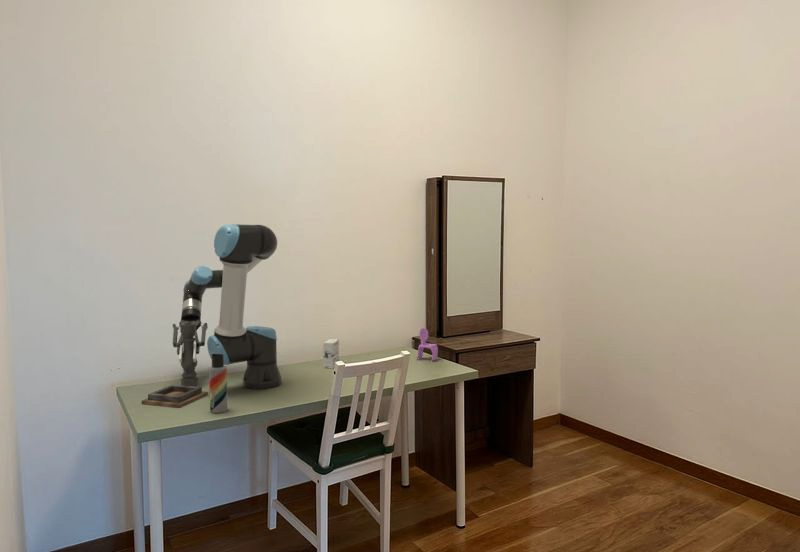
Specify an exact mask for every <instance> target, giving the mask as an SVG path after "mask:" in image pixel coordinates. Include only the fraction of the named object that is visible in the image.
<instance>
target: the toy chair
mask: <svg viewBox="0 0 800 552" xmlns="http://www.w3.org/2000/svg"><path fill="white" fill-rule="evenodd" d="M418 336H419V338H420V344H419V345H418V348H417V356H416V359H418V358H420V357H422V356H423V357H424V350H425V348H426V349H430V350H431V353H432V355H431V356H432V358H431V360H430V362H431V361H433V360H435V359H437V360H438V354H439V346H438V344H437V343H428V342H427V339H428V338H429V331H428V329H427V328H424V327H423V328H422V327H421V328H420V330H419V333H418ZM416 359H415V360H416ZM418 360H419V359H418ZM435 361H436V360H435ZM433 362H434V361H433Z"/></svg>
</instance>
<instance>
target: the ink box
mask: <svg viewBox="0 0 800 552" xmlns="http://www.w3.org/2000/svg"><path fill="white" fill-rule="evenodd" d="M339 347H340V340H339V339H337V338H333V339H332V338H329V339H327V340H326V341H324V342H323V352H322V353H323V355H322V356H323V362H322V364H323V366H322V368H323V367H332V368H333V369H334V368H335V367H334V365H335V362H337V361H339V360H340V359H339V358H340V356H339V355H340V354H339V351H340V350H339ZM332 368H331V369H332Z"/></svg>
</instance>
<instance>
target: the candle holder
mask: <svg viewBox="0 0 800 552" xmlns="http://www.w3.org/2000/svg"><path fill="white" fill-rule="evenodd" d="M179 330H180V331H179V332H180V336H181V335H182V337H183V339H182V340H181V341H182V342H183V344H182V346H183V356H182V363H180V366H181V368H182V369H183V372H182V373H181V379H180V383H181V386H192V387H199V377H198V372H197V371H195V370H196V367H197V366H198V360H197V358H196V362H194V361H193V352H194V344H195V342H196V341H195V336H194V335H195V332H196V324H195V323H183V324H180V327H179Z"/></svg>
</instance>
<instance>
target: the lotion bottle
mask: <svg viewBox="0 0 800 552" xmlns="http://www.w3.org/2000/svg"><path fill="white" fill-rule="evenodd" d="M227 370H228V369H227V365H224V359H223V354H212V359H211V366H210V367H209V368H208V377H209V378H208V380H209V382H208V383H209V409H210V413H213V414H223V413H225V412H227V411H228V408H229V407H228V371H227Z"/></svg>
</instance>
